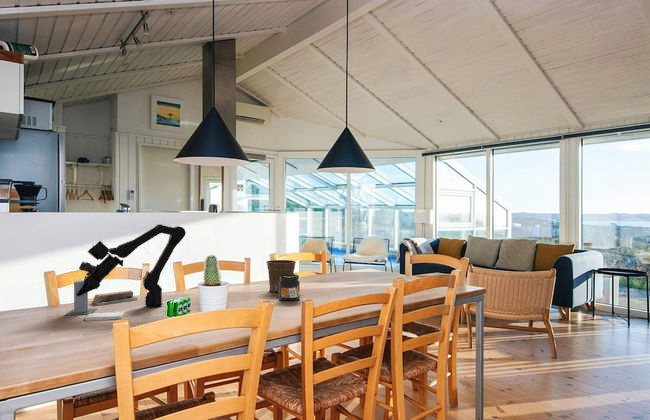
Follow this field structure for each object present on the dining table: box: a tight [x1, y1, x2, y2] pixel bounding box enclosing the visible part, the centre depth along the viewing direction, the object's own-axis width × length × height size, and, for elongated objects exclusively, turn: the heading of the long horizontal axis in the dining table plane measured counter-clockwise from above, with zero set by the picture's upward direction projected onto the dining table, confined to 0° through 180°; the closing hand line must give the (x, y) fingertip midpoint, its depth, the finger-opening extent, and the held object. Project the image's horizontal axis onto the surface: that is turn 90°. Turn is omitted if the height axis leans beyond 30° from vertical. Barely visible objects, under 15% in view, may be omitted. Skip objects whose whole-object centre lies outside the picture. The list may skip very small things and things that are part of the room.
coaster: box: [63, 308, 98, 317], centre depth 192 cm, size 10×10×1 cm
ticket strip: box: [83, 311, 126, 322], centre depth 183 cm, size 14×7×1 cm, turn 103°
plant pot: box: [266, 259, 297, 293], centre depth 244 cm, size 16×16×16 cm
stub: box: [73, 279, 89, 313], centre depth 192 cm, size 5×5×13 cm
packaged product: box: [91, 290, 139, 306], centre depth 216 cm, size 18×5×10 cm
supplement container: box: [278, 273, 301, 302], centre depth 221 cm, size 10×10×12 cm
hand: (77, 294), depth 192 cm, fingers open, 5 cm apart
